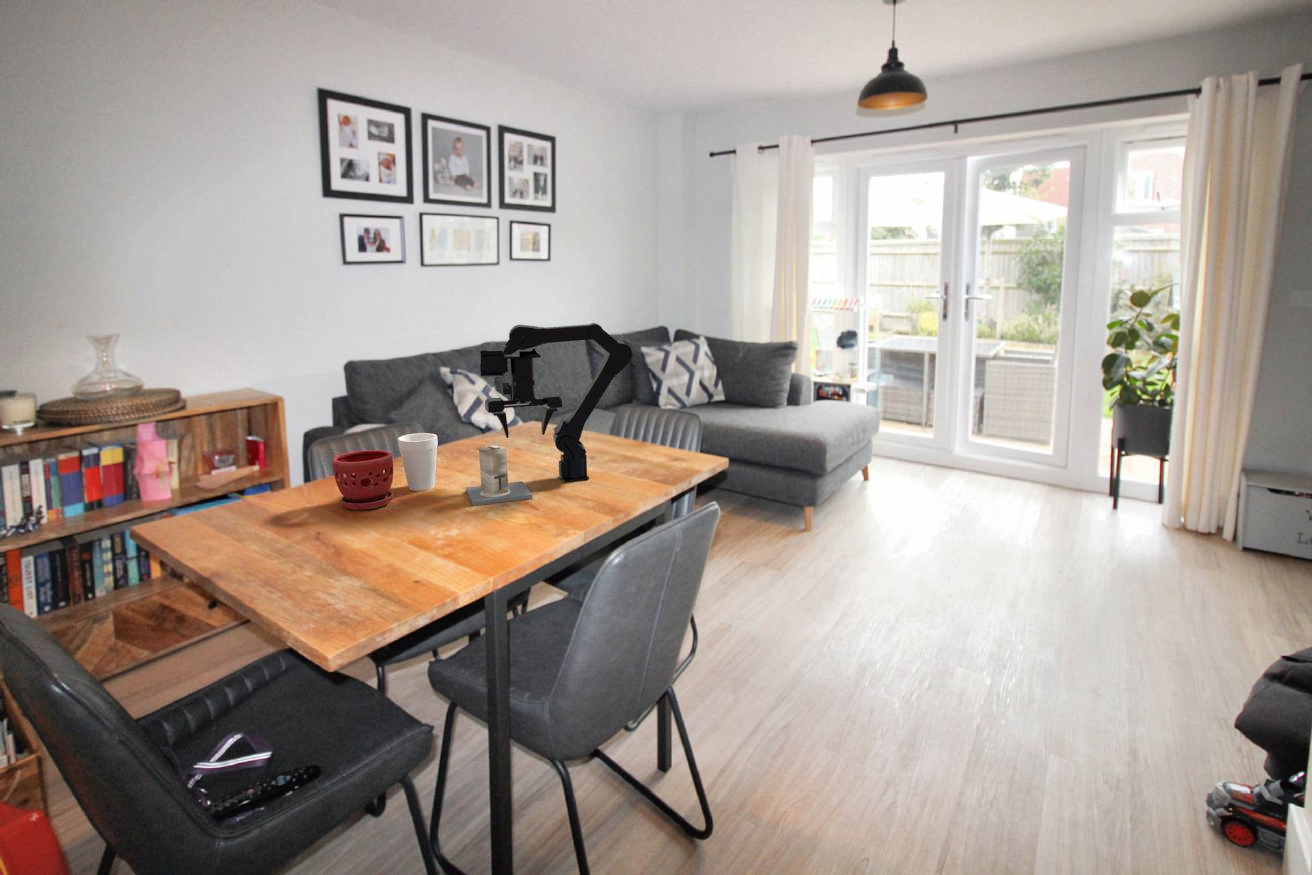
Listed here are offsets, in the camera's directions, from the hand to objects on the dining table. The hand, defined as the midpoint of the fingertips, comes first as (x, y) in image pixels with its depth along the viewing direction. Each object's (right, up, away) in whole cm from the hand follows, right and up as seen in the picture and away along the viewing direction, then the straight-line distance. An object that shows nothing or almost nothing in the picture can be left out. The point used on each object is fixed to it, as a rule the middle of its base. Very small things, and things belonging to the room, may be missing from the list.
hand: (525, 436), depth 190 cm
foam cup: (-26, -13, -2) cm, 29 cm away
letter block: (-6, -14, -10) cm, 18 cm away
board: (-5, -14, -8) cm, 17 cm away
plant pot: (-35, -16, -15) cm, 41 cm away
